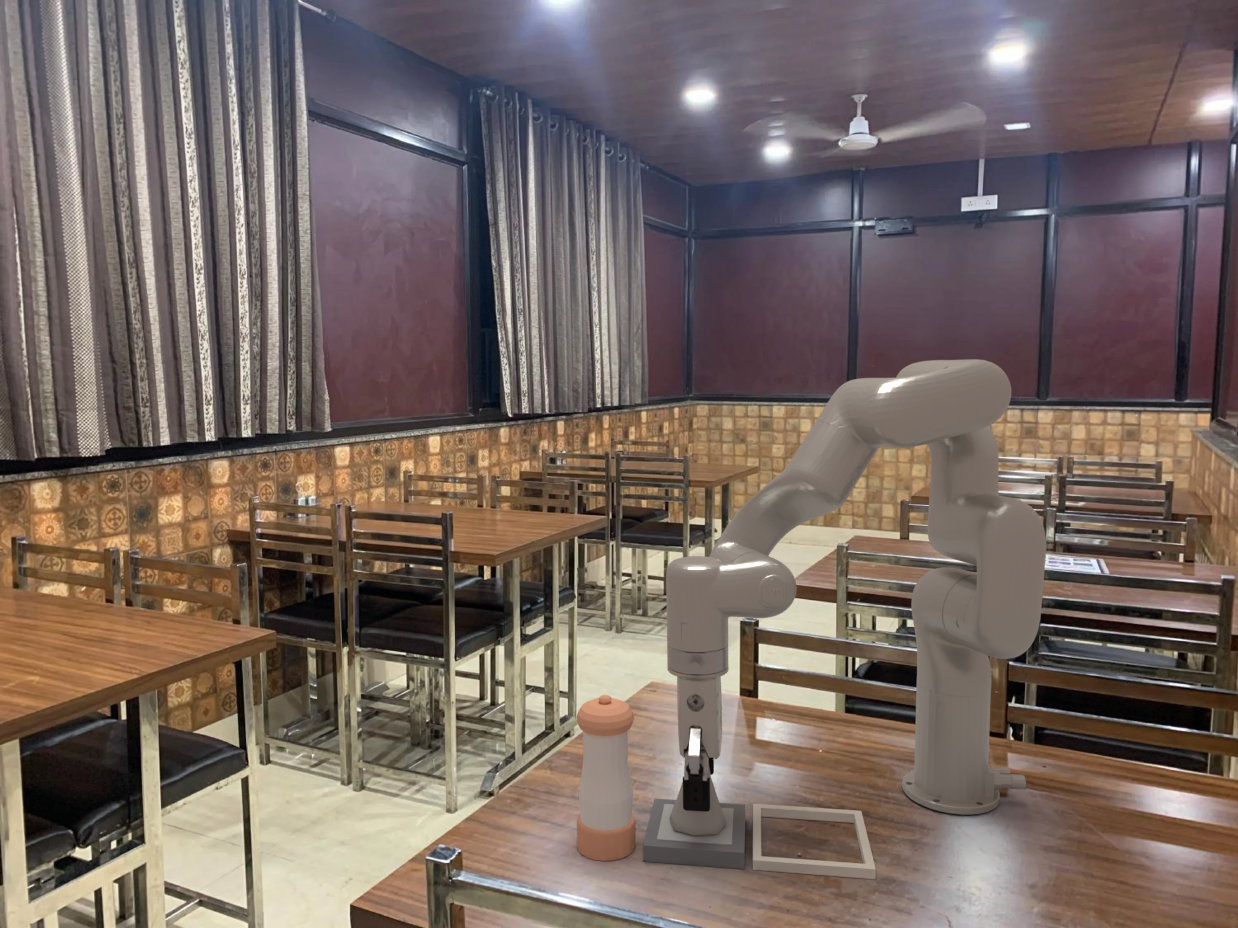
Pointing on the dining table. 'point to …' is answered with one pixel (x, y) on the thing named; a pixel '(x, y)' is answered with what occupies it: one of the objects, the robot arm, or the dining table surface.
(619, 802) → the salt shaker
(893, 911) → the dining table surface
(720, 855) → the slate pad
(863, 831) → the tray frame
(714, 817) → the flask
